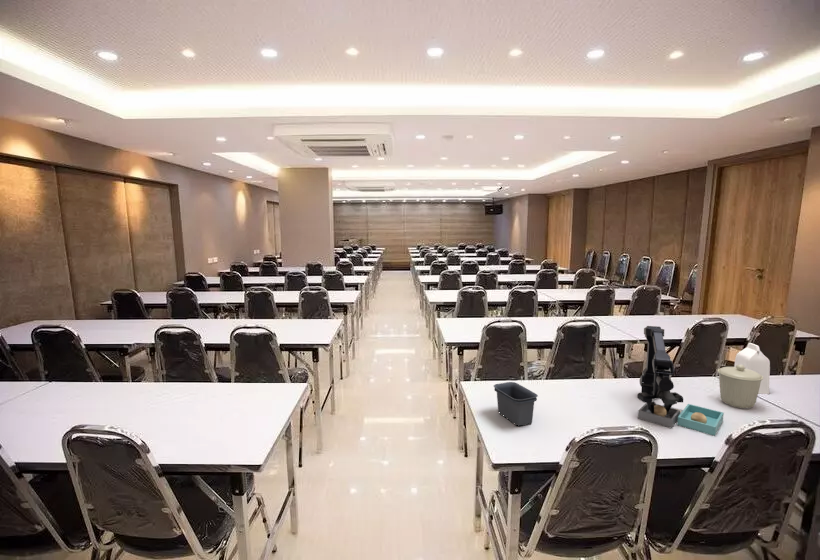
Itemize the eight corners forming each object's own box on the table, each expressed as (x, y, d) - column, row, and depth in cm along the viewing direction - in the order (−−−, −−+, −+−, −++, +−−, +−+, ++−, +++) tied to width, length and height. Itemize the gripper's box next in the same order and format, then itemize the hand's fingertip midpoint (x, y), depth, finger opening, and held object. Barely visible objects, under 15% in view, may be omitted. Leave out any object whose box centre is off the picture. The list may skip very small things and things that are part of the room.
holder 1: (637, 418, 191) (638, 410, 191) (646, 409, 201) (647, 401, 200) (671, 428, 181) (672, 419, 181) (679, 418, 191) (680, 410, 190)
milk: (731, 385, 230) (735, 341, 227) (753, 385, 229) (757, 341, 225) (745, 393, 218) (749, 347, 215) (769, 394, 217) (773, 347, 214)
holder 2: (677, 425, 184) (677, 417, 184) (687, 411, 198) (688, 403, 197) (714, 436, 174) (715, 427, 174) (723, 420, 188) (723, 412, 187)
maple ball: (649, 417, 191) (650, 405, 190) (653, 413, 195) (654, 401, 195) (664, 421, 187) (665, 409, 186) (667, 417, 191) (668, 405, 190)
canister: (708, 396, 216) (711, 358, 213) (746, 398, 212) (749, 360, 209) (727, 410, 198) (730, 369, 196) (769, 413, 194) (773, 371, 192)
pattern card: (659, 409, 200) (659, 408, 200) (662, 405, 205) (662, 404, 205) (680, 415, 194) (680, 413, 194) (683, 411, 198) (683, 409, 198)
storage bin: (490, 411, 201) (490, 384, 199) (516, 406, 206) (516, 379, 205) (516, 430, 181) (516, 400, 180) (543, 424, 187) (544, 395, 185)
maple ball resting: (688, 425, 183) (689, 413, 182) (691, 421, 187) (692, 408, 186) (704, 430, 179) (705, 417, 178) (707, 425, 183) (708, 412, 182)
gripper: (651, 389, 181) (649, 422, 183) (692, 389, 181) (690, 422, 183) (637, 380, 192) (635, 411, 194) (676, 380, 192) (674, 411, 194)
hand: (659, 414), depth 191 cm, fingers closed on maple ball, 6 cm apart
